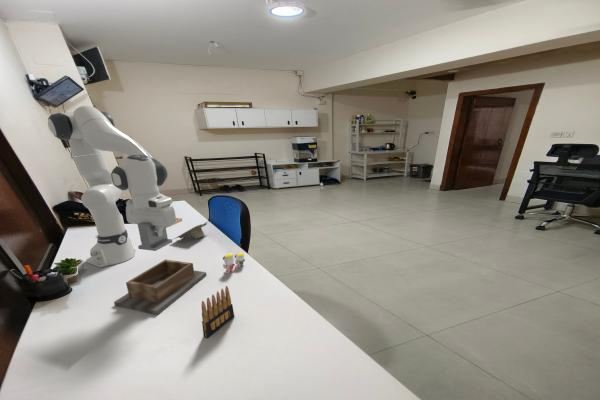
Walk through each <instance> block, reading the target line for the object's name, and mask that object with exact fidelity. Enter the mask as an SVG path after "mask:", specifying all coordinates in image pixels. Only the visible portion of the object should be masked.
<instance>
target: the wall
mask: <svg viewBox="0 0 600 400" xmlns="http://www.w3.org/2000/svg"><path fill="white" fill-rule="evenodd" d="M209 222H210V221H207V222H204V223H203V224H198V225H196V226H194V227H192V228H191V229H189V230H187V231H185V232H183V233H182V234H180V235H178V236H177V237H175V238H173V240H175V239H178V238H179V239H183V238H186V237H187V236H189V235H191V236H192V237H193V238H194V239H200V238H201V237H203V236H205V232H204V231H203V229H202V228H203V227H205V226H206V225H207V224H208V223H209Z"/></svg>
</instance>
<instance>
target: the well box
mask: <svg viewBox="0 0 600 400" xmlns="http://www.w3.org/2000/svg"><path fill="white" fill-rule="evenodd" d="M206 276H207V272H206V271H199V270H195V269H194V263H193V262H187V261H186V262H185V261H178V260H171V259H164V260H162V261H160V262H159V263H157V264H156V265H153V266H152V267H150V268H148V269H147V270H145V271H143V272H142V273H140V274H138V275H137V276H135V277H133V278H131V279H130V280H128V281H126V282H125V284H126V289H127V292H128V293H126V294H125V295H122V296H121V297H119V298H118V299H116V300H115V301H113V304H114V306H115V307H119V308H125V309H128V310H133V311H138V312H143V313H147V314H151V315H157V316H158V315H160V314H161V313H162V312H163V311H165V310H166V309H167V308H168V307H170V306H171V305H172V304H173V303H174V302H176V300H178V299H179V298H181V297H182V296H183V295H184V294H186V292H188V291H189V290H190V289H191V288H193V287H195V285H197V284H198V283H200V281H202V280H203V279H204V278H205V277H206Z"/></svg>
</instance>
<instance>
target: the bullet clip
mask: <svg viewBox="0 0 600 400" xmlns="http://www.w3.org/2000/svg"><path fill="white" fill-rule="evenodd" d="M224 289H225V290H224ZM230 294H231V293H230V289H229V286H227V285H225V288H221V289H220V292H219V291H218V290H217V291H216V296H215V294H211V299H210V297H206V303H205V301H204V300H201V317H202V321H201V323H202V324H201V325H202V331H203V332H202V333H203V337H205V338H206V339H209V338H210V337H211V336H212V335H214V334H215V333H217V332H218V331H219V330H220V329H221V328H222V327H224V326H225V325H226V324H228V323H229V322H230V321H232V320H233V319H235V311H234V306H233V303H232V299H231V295H230Z"/></svg>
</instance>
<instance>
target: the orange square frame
mask: <svg viewBox="0 0 600 400" xmlns="http://www.w3.org/2000/svg"><path fill="white" fill-rule="evenodd" d="M181 222H183V218H182V217H176V223H175V224H178V223H181ZM175 224H174V225H175ZM167 228H168V227H166V229H167Z"/></svg>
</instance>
